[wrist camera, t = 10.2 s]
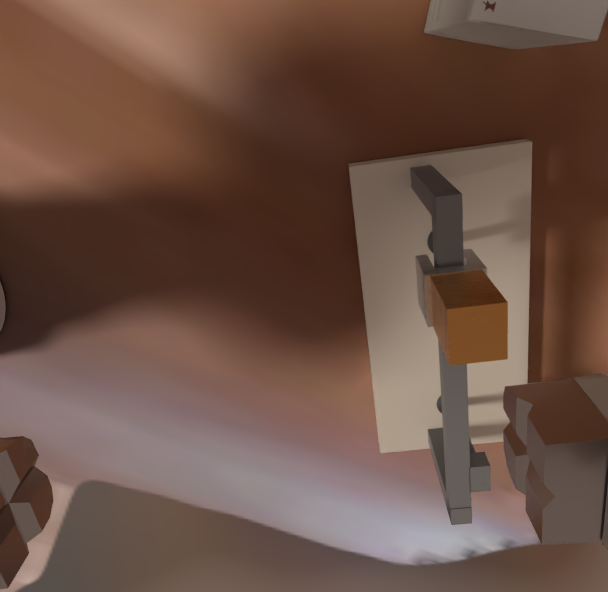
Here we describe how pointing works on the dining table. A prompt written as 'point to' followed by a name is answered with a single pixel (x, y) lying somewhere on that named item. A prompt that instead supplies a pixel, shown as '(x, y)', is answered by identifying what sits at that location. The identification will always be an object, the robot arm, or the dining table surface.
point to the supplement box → (517, 21)
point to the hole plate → (406, 311)
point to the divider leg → (463, 310)
